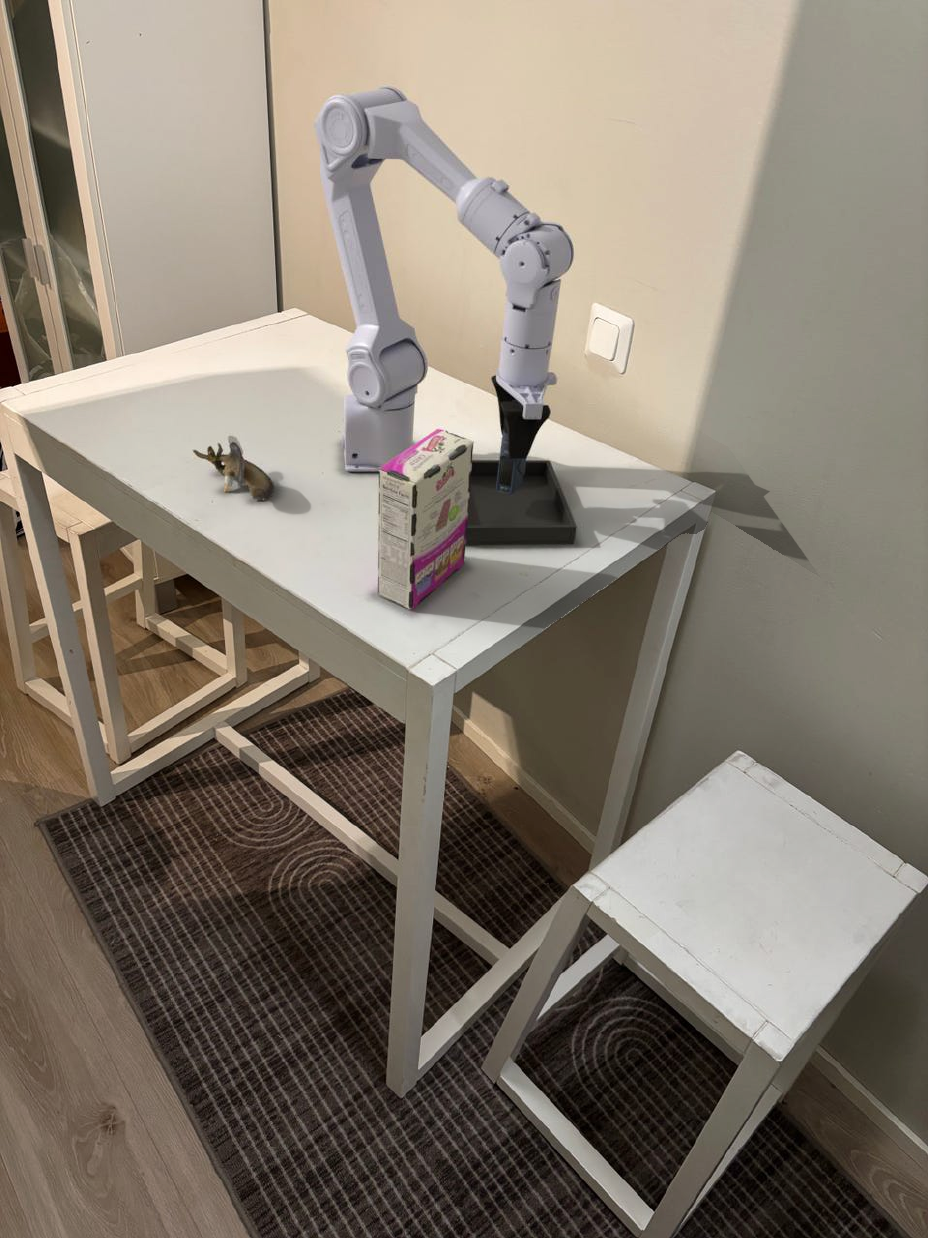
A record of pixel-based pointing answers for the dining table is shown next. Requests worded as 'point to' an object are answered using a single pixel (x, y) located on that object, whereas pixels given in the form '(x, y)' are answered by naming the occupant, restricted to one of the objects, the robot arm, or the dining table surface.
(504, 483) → the vaping device
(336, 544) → the dining table surface
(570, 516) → the tray
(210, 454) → the antlered animal figurine
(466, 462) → the candy bar box
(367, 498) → the dining table surface
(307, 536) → the dining table surface
